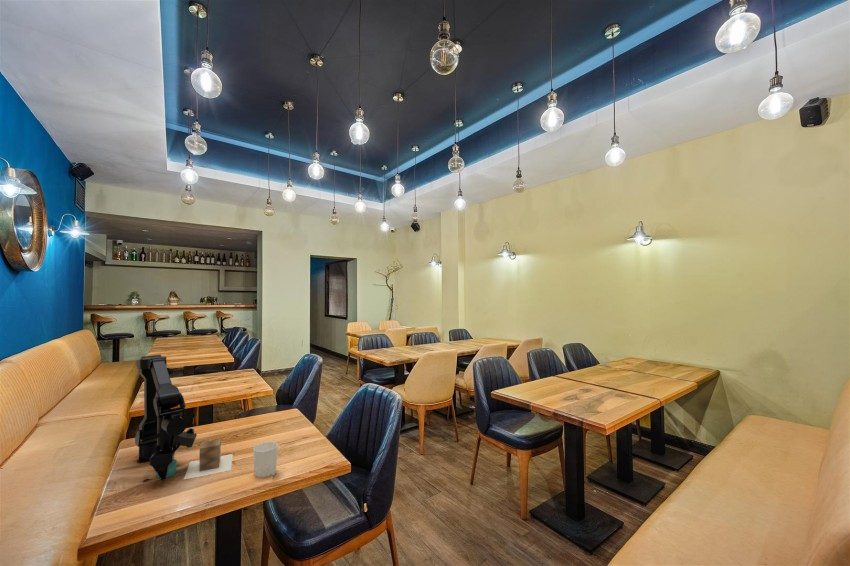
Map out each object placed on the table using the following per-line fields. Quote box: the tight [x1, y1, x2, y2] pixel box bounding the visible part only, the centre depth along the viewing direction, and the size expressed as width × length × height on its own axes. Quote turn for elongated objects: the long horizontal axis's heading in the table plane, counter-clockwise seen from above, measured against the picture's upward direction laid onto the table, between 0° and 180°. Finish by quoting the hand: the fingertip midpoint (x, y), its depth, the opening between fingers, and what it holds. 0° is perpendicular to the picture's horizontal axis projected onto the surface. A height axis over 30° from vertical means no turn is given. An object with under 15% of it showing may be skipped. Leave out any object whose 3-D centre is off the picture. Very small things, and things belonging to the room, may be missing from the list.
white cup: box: [252, 441, 279, 478], centre depth 122 cm, size 8×8×10 cm
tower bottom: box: [199, 450, 221, 471], centre depth 127 cm, size 6×6×4 cm
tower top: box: [199, 438, 222, 460], centre depth 127 cm, size 6×6×4 cm
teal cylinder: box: [156, 458, 178, 479], centre depth 121 cm, size 6×6×5 cm
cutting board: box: [183, 453, 234, 481], centre depth 127 cm, size 14×14×1 cm
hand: (166, 473), depth 121 cm, fingers open, 9 cm apart
